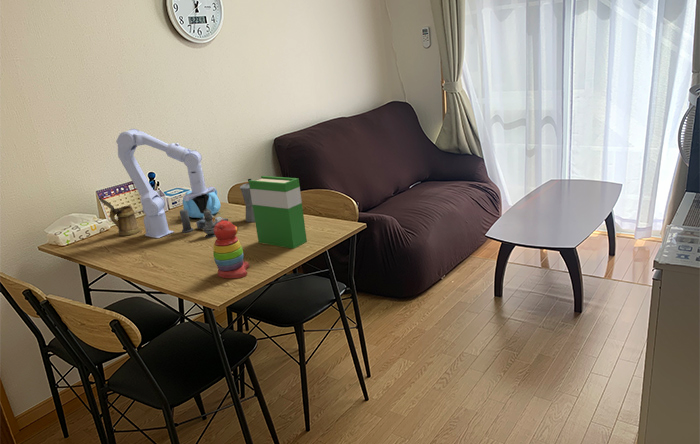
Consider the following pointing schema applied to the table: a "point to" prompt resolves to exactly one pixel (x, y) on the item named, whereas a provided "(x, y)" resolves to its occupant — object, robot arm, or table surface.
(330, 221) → the table surface
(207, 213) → the grey tall lumpy piece
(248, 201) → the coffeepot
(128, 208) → the wooden mug
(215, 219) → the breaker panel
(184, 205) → the decorative pot
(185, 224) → the post
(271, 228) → the hardback book
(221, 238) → the stacking bear
